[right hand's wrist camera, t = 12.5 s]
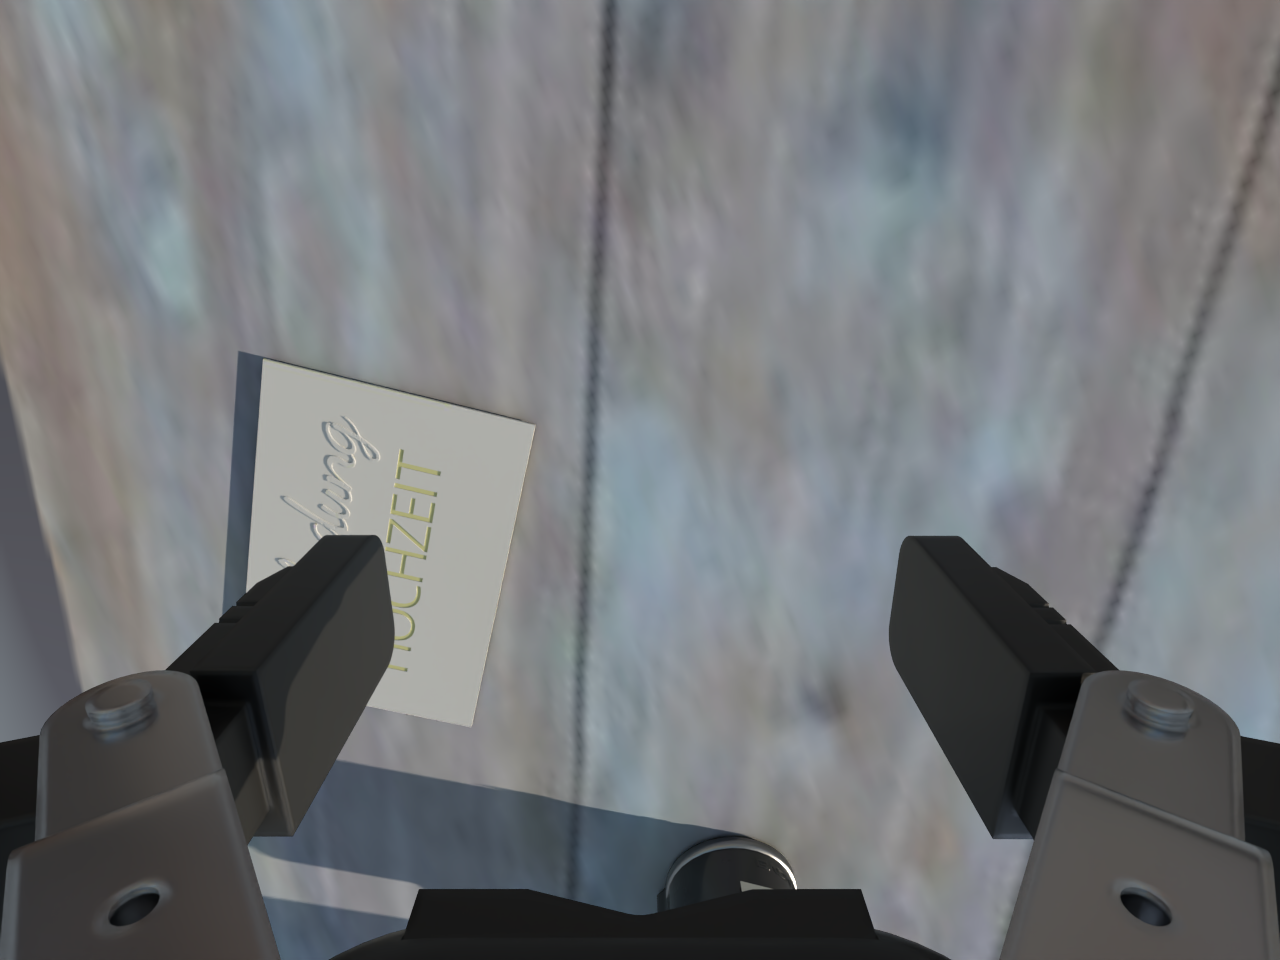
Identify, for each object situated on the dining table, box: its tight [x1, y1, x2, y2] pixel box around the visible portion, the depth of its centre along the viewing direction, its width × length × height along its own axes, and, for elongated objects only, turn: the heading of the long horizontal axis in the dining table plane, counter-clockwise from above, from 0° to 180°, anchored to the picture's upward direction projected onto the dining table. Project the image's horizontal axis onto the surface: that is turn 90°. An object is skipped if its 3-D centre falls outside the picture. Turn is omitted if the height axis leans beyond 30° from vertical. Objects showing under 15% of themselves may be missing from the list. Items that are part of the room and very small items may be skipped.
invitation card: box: [246, 358, 536, 727], centre depth 43 cm, size 21×1×15 cm
